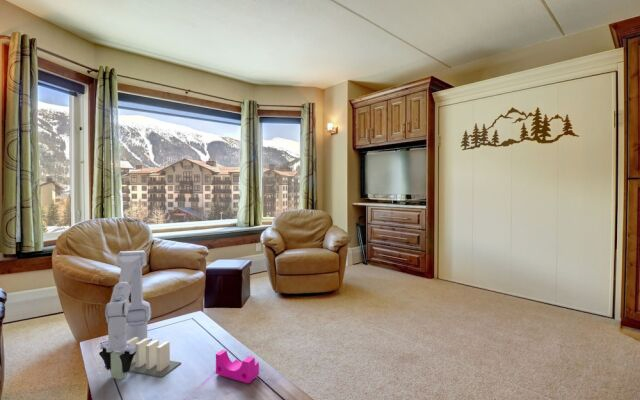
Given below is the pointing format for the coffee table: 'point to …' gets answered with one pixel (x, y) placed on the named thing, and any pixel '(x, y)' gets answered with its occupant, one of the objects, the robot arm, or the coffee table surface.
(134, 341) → the domino
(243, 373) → the toy block
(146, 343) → the domino
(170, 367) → the mat
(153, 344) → the domino
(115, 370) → the sage domino
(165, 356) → the domino
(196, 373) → the coffee table surface
